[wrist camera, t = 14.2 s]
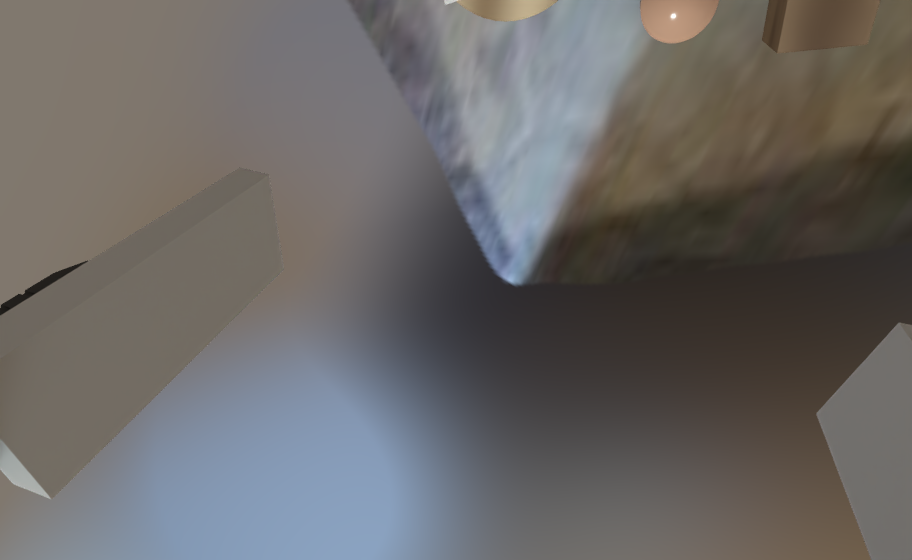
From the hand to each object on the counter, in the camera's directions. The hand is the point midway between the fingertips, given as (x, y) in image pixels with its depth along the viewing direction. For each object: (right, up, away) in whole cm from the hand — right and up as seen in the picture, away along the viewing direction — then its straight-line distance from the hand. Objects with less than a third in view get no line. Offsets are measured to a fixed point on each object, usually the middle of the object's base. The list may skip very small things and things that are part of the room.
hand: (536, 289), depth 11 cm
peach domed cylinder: (+13, +20, +22) cm, 32 cm away
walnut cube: (+21, +18, +20) cm, 34 cm away
